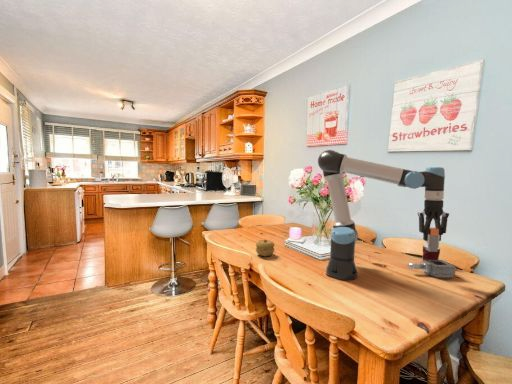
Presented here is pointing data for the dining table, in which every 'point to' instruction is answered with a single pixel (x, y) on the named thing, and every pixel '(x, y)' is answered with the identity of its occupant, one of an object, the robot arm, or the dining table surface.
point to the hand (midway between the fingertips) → (431, 247)
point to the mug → (430, 254)
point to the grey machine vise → (435, 268)
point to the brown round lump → (265, 247)
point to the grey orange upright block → (433, 240)
